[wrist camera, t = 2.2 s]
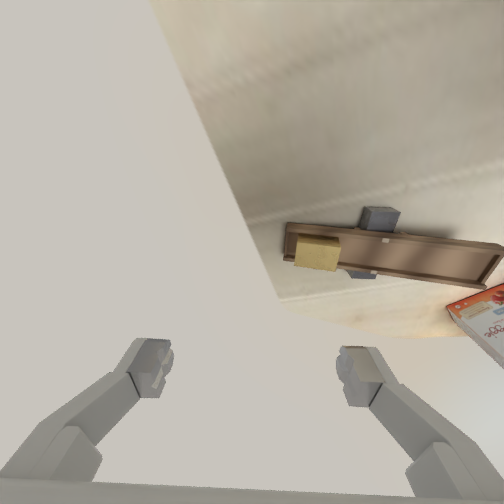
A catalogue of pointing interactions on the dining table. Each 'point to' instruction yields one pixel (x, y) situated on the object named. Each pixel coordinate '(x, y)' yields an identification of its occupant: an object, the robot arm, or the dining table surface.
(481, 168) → the dining table surface
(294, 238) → the beam
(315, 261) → the rider
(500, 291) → the cracker box
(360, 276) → the fulcrum
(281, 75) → the dining table surface
